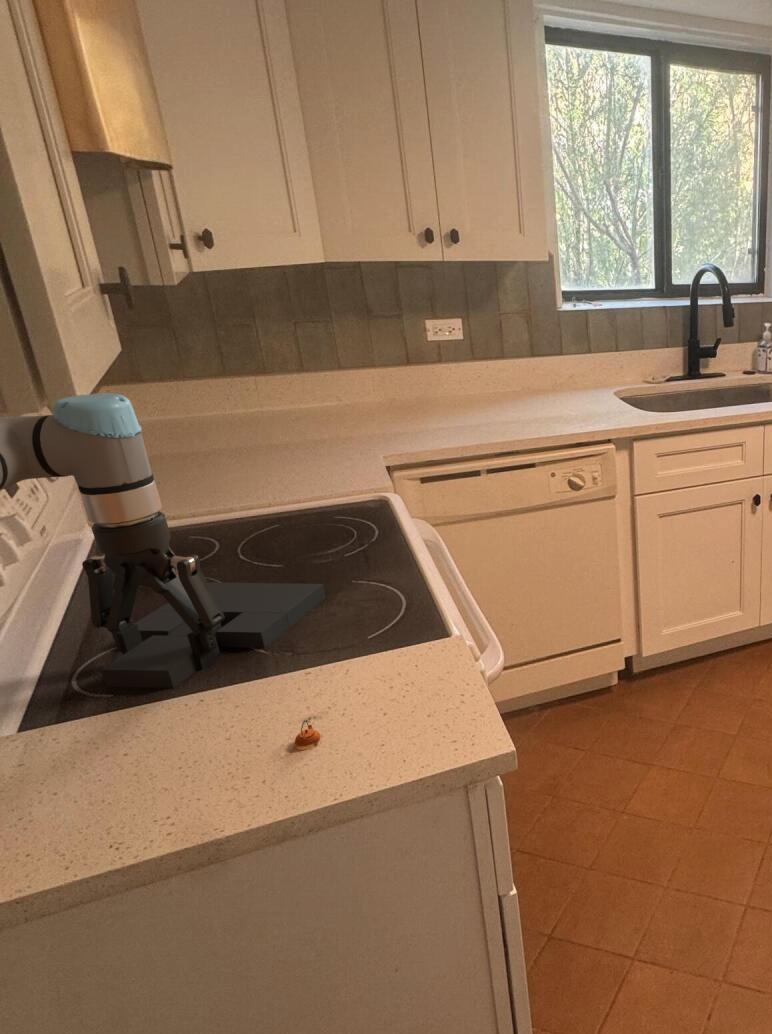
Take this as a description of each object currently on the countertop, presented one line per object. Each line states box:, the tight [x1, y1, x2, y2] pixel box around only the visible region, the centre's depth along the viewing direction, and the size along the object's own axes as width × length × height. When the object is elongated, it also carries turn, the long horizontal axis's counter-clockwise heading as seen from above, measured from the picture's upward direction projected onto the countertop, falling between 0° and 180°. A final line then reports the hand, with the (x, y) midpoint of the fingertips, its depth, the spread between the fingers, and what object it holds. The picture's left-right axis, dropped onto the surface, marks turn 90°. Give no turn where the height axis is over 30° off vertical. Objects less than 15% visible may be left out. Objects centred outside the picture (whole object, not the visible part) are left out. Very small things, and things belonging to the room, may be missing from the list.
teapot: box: [294, 719, 321, 751], centre depth 92 cm, size 3×3×3 cm
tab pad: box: [100, 623, 223, 689], centre depth 107 cm, size 9×13×4 cm
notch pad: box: [133, 581, 327, 649], centre depth 118 cm, size 20×16×4 cm
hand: (174, 671), depth 107 cm, fingers closed on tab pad, 9 cm apart
